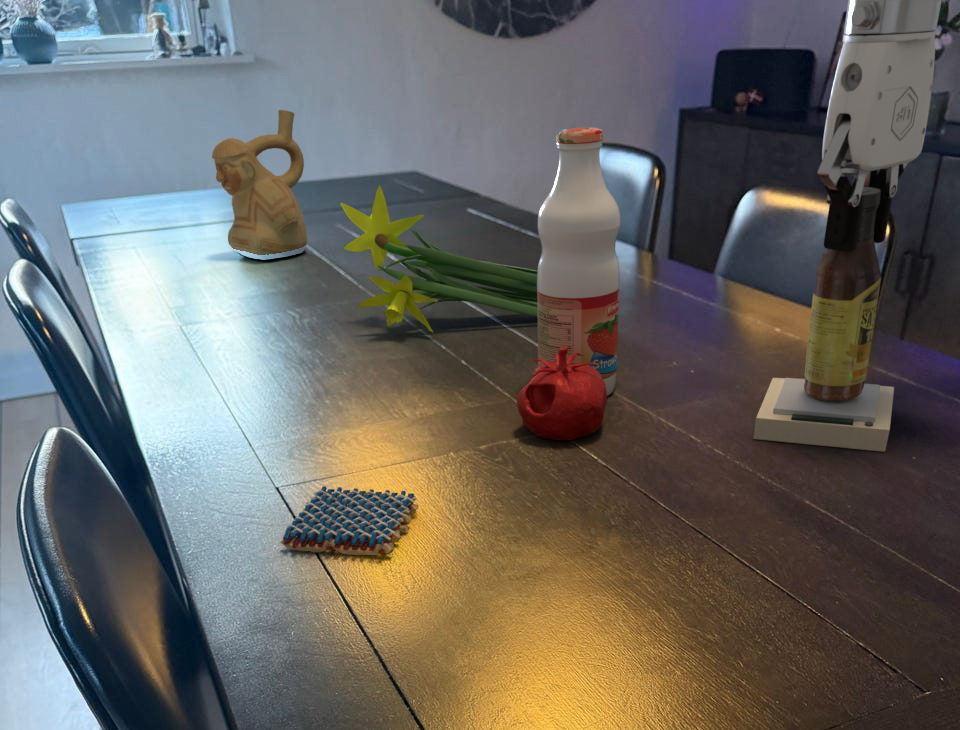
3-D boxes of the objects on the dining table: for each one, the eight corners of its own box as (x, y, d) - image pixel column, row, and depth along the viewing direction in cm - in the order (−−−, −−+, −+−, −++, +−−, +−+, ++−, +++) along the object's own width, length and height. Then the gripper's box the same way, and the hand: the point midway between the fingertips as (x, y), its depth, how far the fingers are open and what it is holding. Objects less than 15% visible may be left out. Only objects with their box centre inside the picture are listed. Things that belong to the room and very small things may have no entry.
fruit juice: (545, 376, 118) (542, 126, 102) (619, 378, 116) (628, 123, 100) (532, 402, 110) (527, 136, 94) (611, 405, 108) (620, 133, 92)
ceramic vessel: (211, 258, 187) (183, 117, 173) (292, 241, 198) (272, 106, 184) (255, 270, 177) (229, 120, 162) (339, 251, 187) (321, 109, 173)
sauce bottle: (863, 405, 96) (895, 198, 84) (800, 403, 98) (822, 200, 86) (864, 381, 101) (894, 182, 89) (803, 379, 103) (825, 184, 91)
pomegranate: (593, 409, 107) (595, 327, 102) (618, 441, 99) (621, 354, 94) (509, 418, 106) (507, 336, 101) (528, 451, 98) (526, 364, 93)
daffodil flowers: (570, 345, 131) (322, 291, 125) (547, 371, 145) (323, 323, 140) (590, 227, 130) (342, 167, 125) (565, 264, 145) (342, 212, 139)
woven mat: (424, 507, 88) (422, 488, 87) (390, 562, 80) (387, 541, 79) (321, 501, 90) (318, 482, 89) (278, 554, 82) (274, 533, 81)
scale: (770, 397, 108) (773, 372, 106) (890, 407, 103) (895, 381, 102) (753, 439, 98) (756, 412, 96) (885, 452, 94) (891, 423, 92)
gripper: (876, 24, 74) (837, 267, 84) (982, 14, 82) (935, 235, 92) (795, 27, 78) (768, 255, 89) (903, 16, 87) (867, 226, 97)
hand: (854, 243), depth 90 cm, fingers closed on sauce bottle, 4 cm apart
